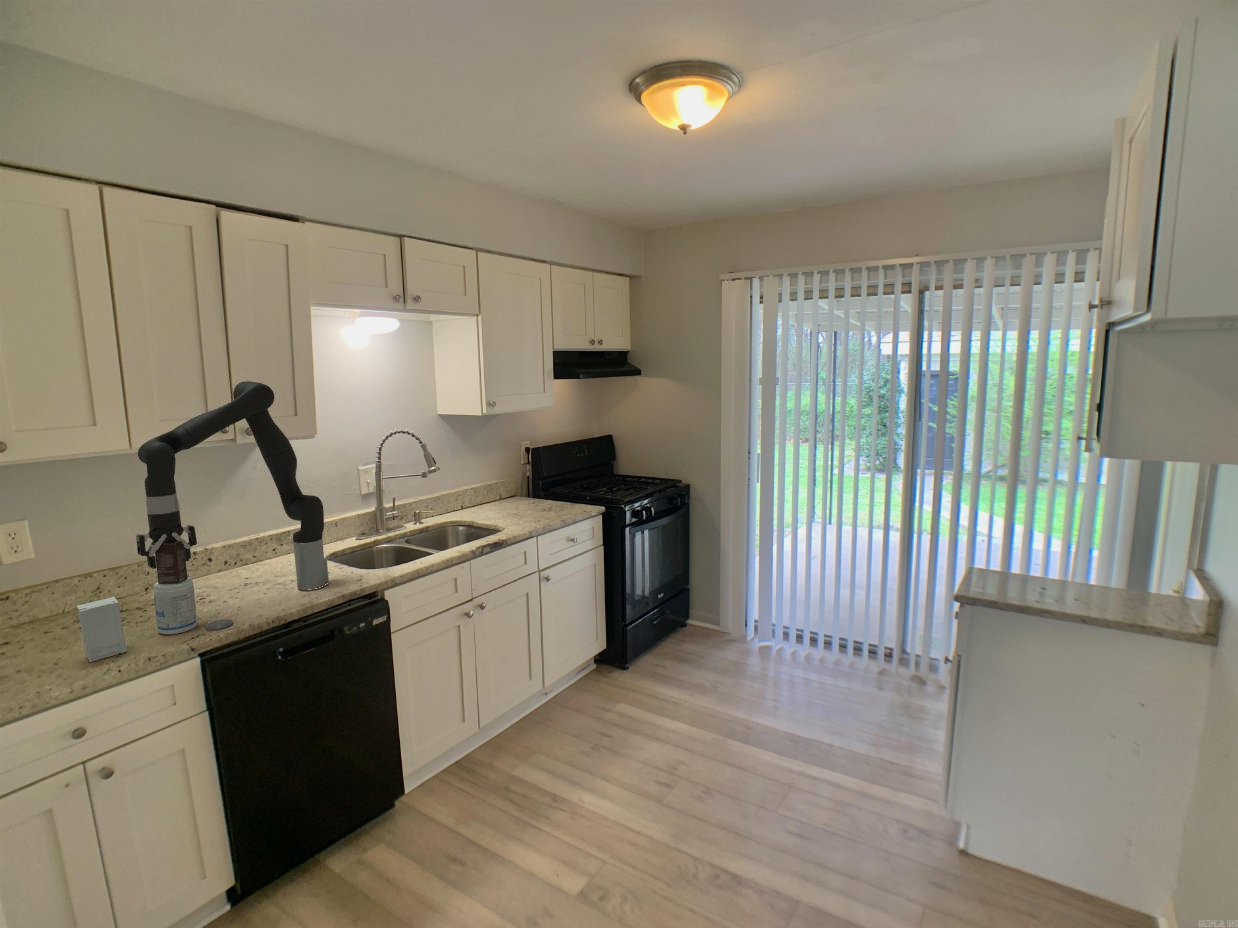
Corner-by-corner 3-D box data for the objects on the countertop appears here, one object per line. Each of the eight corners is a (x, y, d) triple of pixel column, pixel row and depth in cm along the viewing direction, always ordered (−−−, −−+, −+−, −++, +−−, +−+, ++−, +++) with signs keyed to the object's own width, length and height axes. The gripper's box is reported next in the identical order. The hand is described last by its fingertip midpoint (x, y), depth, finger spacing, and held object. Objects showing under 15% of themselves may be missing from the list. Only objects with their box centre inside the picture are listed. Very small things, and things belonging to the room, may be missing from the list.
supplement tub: (150, 632, 179) (145, 584, 177) (184, 620, 187) (180, 574, 185) (170, 637, 175) (165, 589, 173) (204, 625, 184) (200, 578, 181)
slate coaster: (227, 619, 188) (226, 617, 188) (237, 624, 184) (237, 622, 184) (201, 627, 182) (201, 625, 182) (212, 632, 178) (211, 630, 178)
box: (188, 578, 182) (184, 539, 180) (179, 583, 177) (174, 543, 175) (167, 579, 181) (162, 540, 179) (157, 584, 177) (152, 544, 175)
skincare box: (123, 646, 170) (116, 595, 168) (127, 652, 166) (120, 600, 164) (84, 656, 164) (76, 603, 162) (87, 663, 160) (79, 609, 158)
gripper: (186, 504, 184) (192, 556, 186) (128, 513, 172) (135, 568, 175) (196, 507, 180) (203, 560, 182) (138, 516, 168) (146, 573, 170)
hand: (170, 564), depth 178 cm, fingers open, 8 cm apart
